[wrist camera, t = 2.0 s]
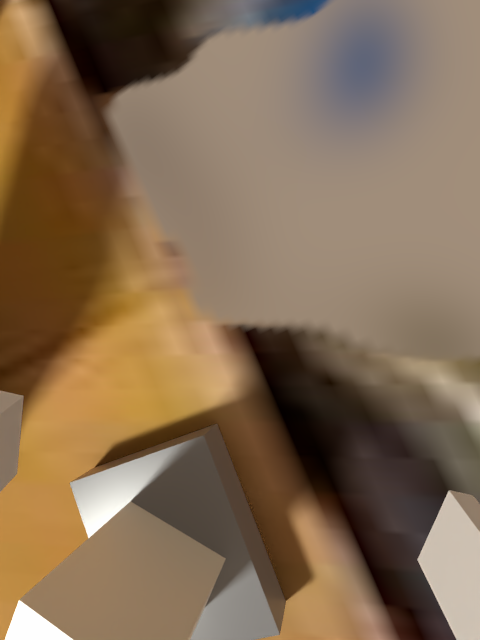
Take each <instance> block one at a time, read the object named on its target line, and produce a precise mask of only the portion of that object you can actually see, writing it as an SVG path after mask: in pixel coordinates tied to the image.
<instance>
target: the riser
mask: <svg viewBox="0 0 480 640" xmlns="http://www.w3.org/2000/svg"><path fill="white" fill-rule="evenodd" d="M70 485H71V488H72V491H73V494H74V497H75V500H76V503H77V506H78V508H79V511H80V514H81V517H82V520H83V523H84V526H85V529H86V532H87V535H88V538H90V537H91V536H92V535H93V534H94V533H95V532H96V531H97V530H99V529H100V528H101V527H102V526H103V525H104V524H105V523H107V522H108V521H109V520H110V519H111V518H112V517H113V516H114V515H116V514H117V513H118V512H119V511H120V510H121V509H122V508H123V507H125V506H126V505H127V504H128V503H129V502H130V501H131V502H132V503H134V504H136V505H137V506H139V507H141V508H142V509H144V510H146V511H147V512H149V513H151V514H152V515H154V516H156V517H157V518H159V519H161V520H162V521H164V522H166V523H167V524H169V525H171V526H172V527H174V528H176V529H177V530H179V531H181V532H182V533H184V534H186V535H187V536H189V537H191V538H192V539H194V540H196V541H197V542H199V543H201V544H202V545H204V546H206V547H207V548H209V549H211V550H212V551H214V552H216V553H217V554H219V555H221V556H222V557H224V558H226V559H225V562H224V564H223V566H222V569H221V571H220V573H219V576H218V578H217V580H216V583H215V585H214V587H213V590H212V592H211V594H210V597H209V599H208V602H207V604H206V606H205V608H204V611H203V613H202V615H201V617H200V619H199V622H198V624H197V626H196V628H195V630H194V632H193V635H192V637H191V639H190V640H255V639H260V638H265V637H270V636H275V635H280V631H281V625H282V620H283V615H284V609H285V604H286V600H285V598H284V595H283V593H282V590H281V588H280V585H279V582H278V580H277V577H276V575H275V572H274V569H273V567H272V564H271V562H270V559H269V556H268V554H267V551H266V549H265V546H264V543H263V541H262V538H261V536H260V533H259V530H258V528H257V525H256V523H255V520H254V517H253V515H252V512H251V510H250V507H249V505H248V502H247V499H246V497H245V494H244V492H243V489H242V486H241V484H240V481H239V479H238V476H237V473H236V471H235V468H234V466H233V463H232V460H231V458H230V455H229V453H228V450H227V447H226V445H225V442H224V440H223V437H222V435H221V432H220V429H219V427H218V424H214V425H211V426H208V427H206V428H203V429H200V430H197V431H195V432H192V433H189V434H186V435H183V436H181V437H178V438H175V439H172V440H170V441H167V442H164V443H161V444H158V445H156V446H153V447H150V448H147V449H145V450H142V451H139V452H136V453H133V454H131V455H128V456H125V457H122V458H120V459H117V460H114V461H111V462H108V463H106V464H103V465H100V466H97V467H95V468H93V469H91V470H89V471H88V472H86V473H85V474H83V475H81V476H80V477H78V478H77V479H75V480H73V481H72V482H70Z"/></svg>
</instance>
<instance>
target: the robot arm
mask: <svg viewBox="0 0 480 640" xmlns="http://www.w3.org/2000/svg"><path fill="white" fill-rule="evenodd" d="M23 400H24V396H23V395H18V394H14V393H9V392H5V391H0V492H1V490H2V489H3V488H4V487H5V486H6V485H7V484H8V483H9V482H10V481H11V480H12V478H13V477H14V476H15V475H16V474H17V467H18V456H19V445H20V433H21V422H22V411H23ZM418 562H419V564H420V566H421V568H422V570H423V572H424V574H425V576H426V578H427V580H428V582H429V584H430V586H431V588H432V590H433V593H434V595H435V597H436V599H437V601H438V603H439V605H440V607H441V609H442V611H443V613H444V615H445V617H446V619H447V621H448V623H449V625H450V627H451V629H452V631H453V633H454V635H455V637H456V639H457V640H480V504H479V503H478V501H477V500H476V499H475V498H474V496H473V495H468V494H464V493H459V492H455V491H450V490H449V491H448V494H447V496H446V498H445V500H444V502H443V505H442V507H441V509H440V511H439V513H438V516H437V518H436V520H435V522H434V524H433V527H432V529H431V531H430V533H429V535H428V538H427V540H426V542H425V544H424V547H423V549H422V551H421V553H420V555H419V558H418Z"/></svg>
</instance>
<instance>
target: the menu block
mask: <svg viewBox="0 0 480 640" xmlns="http://www.w3.org/2000/svg"><path fill="white" fill-rule="evenodd" d="M225 559H226V558H224V557H222V556H221V555H219V554H217V553H216V552H214V551H212V550H211V549H209V548H207V547H206V546H204V545H202V544H201V543H199V542H197V541H196V540H194V539H192V538H191V537H189V536H187V535H186V534H184V533H182V532H181V531H179V530H177V529H176V528H174V527H172V526H171V525H169V524H167V523H166V522H164V521H162V520H161V519H159V518H157V517H156V516H154V515H152V514H151V513H149V512H147V511H146V510H144V509H142V508H141V507H139V506H137V505H136V504H134V503H132V502H131V501H130V502H129V503H128V504H127V505H126V506H125V507H123V508H122V509H121V510H120V511H119V512H118V513H117V514H116V515H114V516H113V517H112V518H111V519H110V520H109V521H108V522H107V523H105V524H104V525H103V526H102V527H101V528H100V529H99V530H97V531H96V532H95V533H94V534H93V535H92V536H91V537H90V538H88V539H87V540H86V541H85V542H84V543H83V544H82V545H81V546H79V547H78V548H77V549H76V550H75V551H74V552H73V553H72V554H70V555H69V556H68V557H67V558H66V559H65V560H64V561H63V562H61V563H60V564H59V565H58V566H57V567H56V568H55V569H54V570H52V571H51V572H50V573H49V574H48V575H47V576H46V577H44V578H43V579H42V580H41V581H40V582H39V583H38V584H37V585H35V586H34V587H33V588H32V589H31V590H30V591H29V592H28V593H26V594H25V595H24V596H23V597H22V598H21V599H20V600H19V602H18V605H17V607H16V610H15V613H14V616H13V618H12V621H11V624H10V627H9V629H8V632H7V635H6V638H5V640H190V639H191V637H192V635H193V632H194V630H195V628H196V626H197V624H198V622H199V619H200V617H201V615H202V613H203V611H204V608H205V606H206V604H207V602H208V599H209V597H210V594H211V592H212V590H213V587H214V585H215V583H216V580H217V578H218V576H219V573H220V571H221V569H222V566H223V564H224V562H225Z"/></svg>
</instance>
